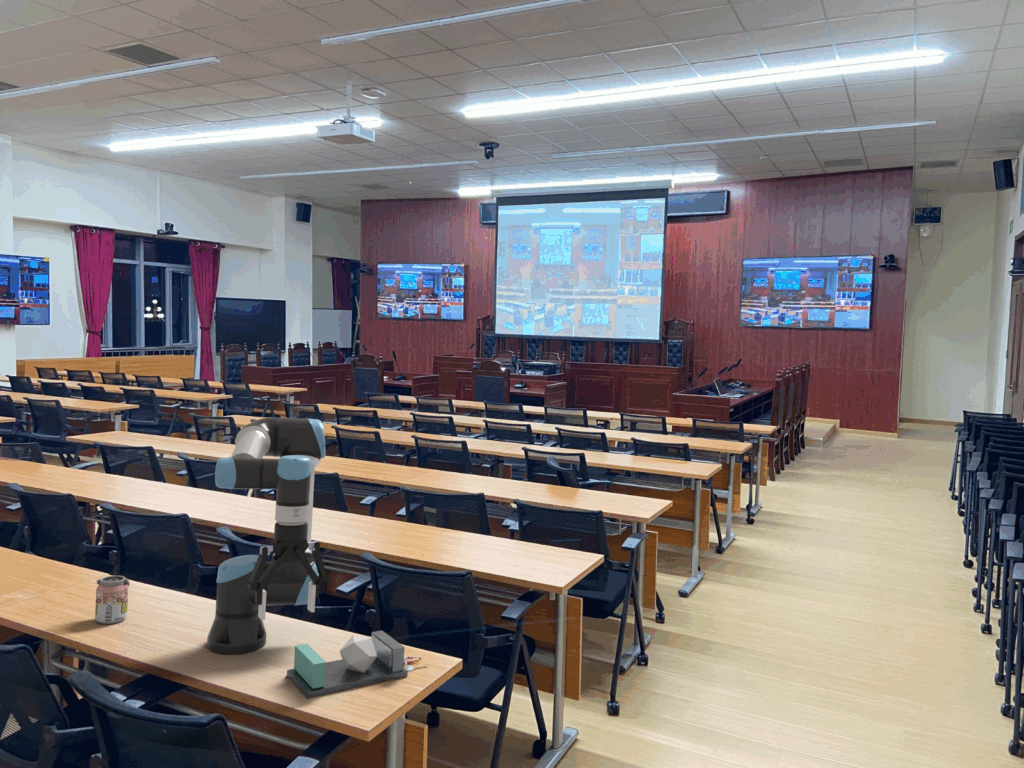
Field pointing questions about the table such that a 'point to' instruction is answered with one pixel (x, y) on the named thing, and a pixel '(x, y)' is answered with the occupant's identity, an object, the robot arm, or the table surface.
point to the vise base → (342, 679)
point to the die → (358, 653)
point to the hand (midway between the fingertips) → (286, 614)
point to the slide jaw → (310, 665)
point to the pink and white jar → (111, 599)
